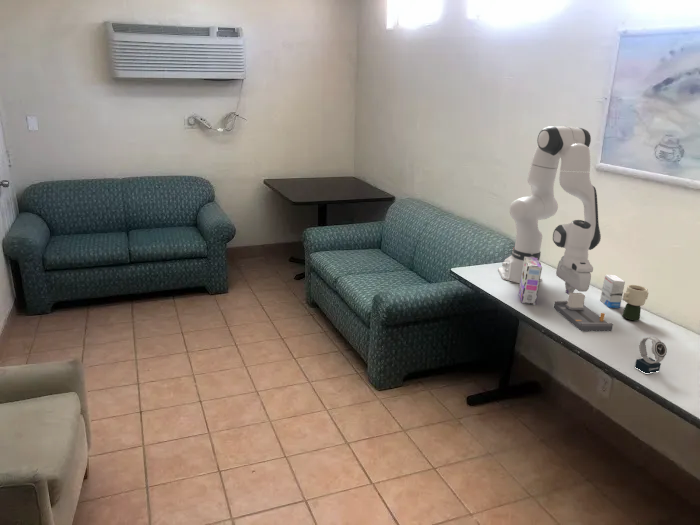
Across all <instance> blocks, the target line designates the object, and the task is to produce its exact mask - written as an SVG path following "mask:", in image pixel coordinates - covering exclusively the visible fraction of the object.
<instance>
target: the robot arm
mask: <svg viewBox="0 0 700 525" xmlns="http://www.w3.org/2000/svg"><path fill="white" fill-rule="evenodd" d="M536 141H537V146H536V148H535V150H534V153H533V154H532V155H533V156H532V159H531V163H530V167H529V172H528V176H527V183H528V185H530V190H531V191H530V192H531V193H530V196H529V195H527V196H522V197H519V198H517V199H515V200H513V201H512V202H511V203H510V206H509V214H510V216H511V218H512V219H513V220H514V223H515V228H516V234H515V236H516V237H515V244H514V247H513V249H512V252H511V255H510V256H508V257H507V258H505V259H504V261H503V262H502V266H500V267H498V268H497V271H498V273H499V275H500V277H501V279H503V280H506V281H511V282H513V283H517V284H520V282H521V275H522V268H523V262H524V257H533V258H538V260H539V262H540V264H541V265H542V262H541V261H540V260H541V247H542V240H543V234H542V232H541V231H540V230H539V225H538V223H539V221H540V220H541V221H543V220H547V219H549V218H552V217H553V216H554V215H556V213H557V211H558V208H559V205H558V201H557V200H556V198H555V195H554V194H555V192H554V186H555V181H556V180H555V179H556V175H557V172H558V167H559V163H560V169H559V178H558V179H559V185H560V187H561V189H562V190H564V192H566V193H567V194H569V195H571V196H574V197H575V198H578V199H579V200H580V201H581V203H582V205H583V215H584V217H583V218H584V220H583V219H575V220H572V221H571V222H570V223H564V224H558V226H556V227H555V229H554V230H553V232H552V241H553V243H554V244H555V246H556V247H559V248H562V249H563V248H564V252H563V253H564V254H563V256H562V257H560V260H559V261H558V264H557V268H556V271H555V275H556V277H558V278H559V279H561V280H562V281H563V282H564V285H565V294H566V295H568V296H569V293H575V290H576V291H577V292H580V293H582V292H588V290H589V288H590V284H591V280H592V274H591V273H593V271H594V267H593V265H592V264H591V262H590V260H589V251H591V250H593V249H595V248H596V247H597V246H598V245H599V244H600V242H601V236H602V234H601V229H600V226H599V209H598V208H599V207H598V206H599V205H598V204H599V203H598V193H597V190H596V189H597V188H596V187H595V186H594V185H593V184H592V181H591V177H590V173H591V153H590V152H591V151H590V145H591V141H592V139H591V133H590V132H589V131H588V130H587V129H585V128H582V127H574V126H568V125H567V126H566V125H564V126H561V125H560V126H554V125H551V126H550V125H549V126H546V127H544V128H542V129H541V130H540V131H539V133H538V136H537V140H536ZM560 160H561V161H560ZM541 281H543V277H542V276H540V282H541Z"/></svg>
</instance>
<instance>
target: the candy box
mask: <svg viewBox="0 0 700 525" xmlns="http://www.w3.org/2000/svg"><path fill="white" fill-rule="evenodd" d="M539 261H540V259H539V260H538V258H533V257H524V262H523V268H522V275H521V282H520V283H519V287H518V288H519V289H518V295H519V298H520V302H521V303H522V304H526V305H527V304H528V305H535V306H536V304H537V298H538V291H539V286H540V282H541V281H540V277H542V276H541V275H542V270H543V267H542V263H541V261H540V262H539ZM540 263H541V264H540Z"/></svg>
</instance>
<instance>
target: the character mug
mask: <svg viewBox="0 0 700 525" xmlns="http://www.w3.org/2000/svg"><path fill="white" fill-rule="evenodd" d="M648 297H649V291H648V288H646V287H645V286H642V285H637V284H628V285H627V287H626V290H625V292H623V295H622V300H623V301H624V302H625V303H626V304H625V306H624V309H623V312H622V317H623V318H625V319H626V320H631V321H634V322H635V321H636V322H637V321H640V319H641V318H640V317H641V308H642V306H644V305H645V304H646V300H648Z"/></svg>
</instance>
